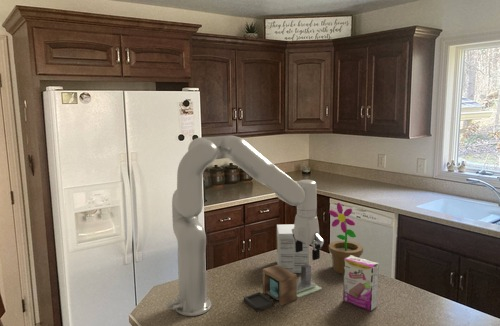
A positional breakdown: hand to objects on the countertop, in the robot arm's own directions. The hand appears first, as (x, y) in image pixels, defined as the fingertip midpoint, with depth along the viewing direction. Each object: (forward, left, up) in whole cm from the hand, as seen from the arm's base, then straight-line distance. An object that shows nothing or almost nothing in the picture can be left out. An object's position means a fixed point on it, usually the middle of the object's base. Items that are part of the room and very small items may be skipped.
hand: (307, 255), depth 155 cm
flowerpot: (+24, +3, -13) cm, 28 cm away
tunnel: (-14, 0, -13) cm, 19 cm away
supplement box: (+7, +18, -13) cm, 24 cm away
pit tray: (-23, 0, -13) cm, 26 cm away
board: (-3, 0, -13) cm, 13 cm away
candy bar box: (+6, -21, -13) cm, 26 cm away
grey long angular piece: (-8, 0, -13) cm, 15 cm away
